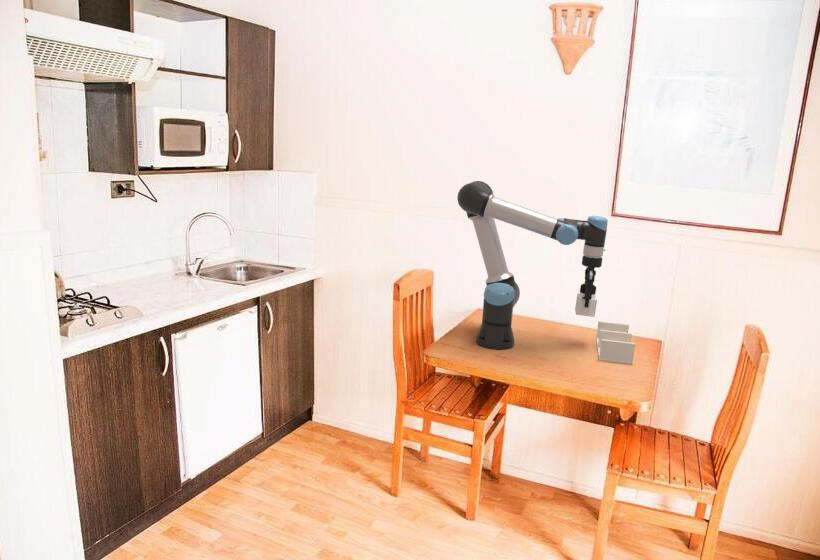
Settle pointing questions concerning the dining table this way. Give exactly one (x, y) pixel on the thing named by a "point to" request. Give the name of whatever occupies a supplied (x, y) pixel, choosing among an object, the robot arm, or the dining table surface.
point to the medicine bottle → (580, 301)
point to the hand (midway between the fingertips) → (584, 311)
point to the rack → (614, 342)
